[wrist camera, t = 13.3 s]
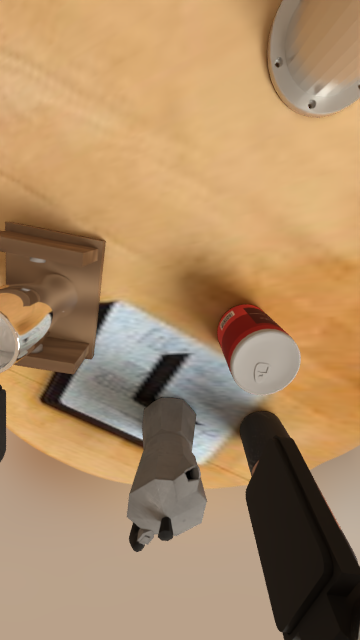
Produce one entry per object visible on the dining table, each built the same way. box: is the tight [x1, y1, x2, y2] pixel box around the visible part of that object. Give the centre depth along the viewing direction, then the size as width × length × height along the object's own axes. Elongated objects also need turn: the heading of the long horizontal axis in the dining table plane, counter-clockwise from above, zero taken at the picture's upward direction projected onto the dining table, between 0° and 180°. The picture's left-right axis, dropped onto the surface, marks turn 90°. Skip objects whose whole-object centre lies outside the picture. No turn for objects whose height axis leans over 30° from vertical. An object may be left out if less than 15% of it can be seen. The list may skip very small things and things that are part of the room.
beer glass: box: [0, 273, 78, 373], centre depth 29 cm, size 7×7×15 cm
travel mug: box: [240, 411, 358, 563], centre depth 36 cm, size 8×8×20 cm
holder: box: [0, 222, 106, 374], centre depth 34 cm, size 17×12×7 cm
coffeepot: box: [127, 397, 207, 552], centre depth 36 cm, size 15×9×18 cm, turn 149°
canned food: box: [217, 304, 301, 395], centre depth 34 cm, size 8×8×11 cm
